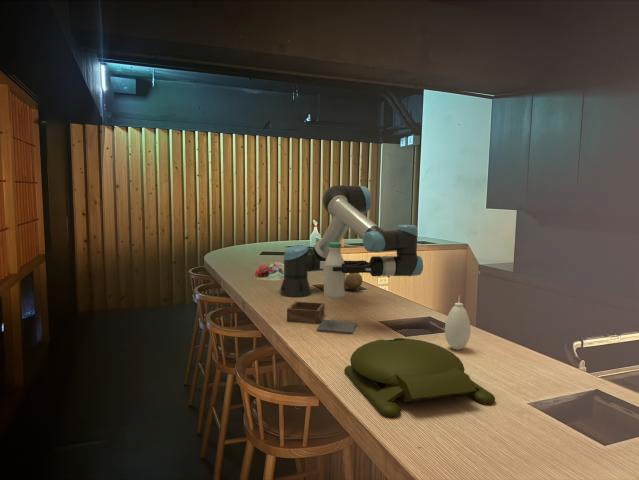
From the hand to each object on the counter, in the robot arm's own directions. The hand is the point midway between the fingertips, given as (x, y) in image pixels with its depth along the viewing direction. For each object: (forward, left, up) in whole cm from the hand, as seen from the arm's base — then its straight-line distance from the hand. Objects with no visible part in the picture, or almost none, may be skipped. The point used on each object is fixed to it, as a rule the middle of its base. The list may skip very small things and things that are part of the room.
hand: (321, 266), depth 170 cm
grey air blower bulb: (+12, +48, -23) cm, 55 cm away
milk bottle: (-2, +5, -11) cm, 12 cm away
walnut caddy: (-10, -8, -23) cm, 26 cm away
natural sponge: (-65, +4, -23) cm, 70 cm away
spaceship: (+42, +33, -24) cm, 59 cm away
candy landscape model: (-91, -46, -23) cm, 104 cm away
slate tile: (-1, +6, -23) cm, 24 cm away
